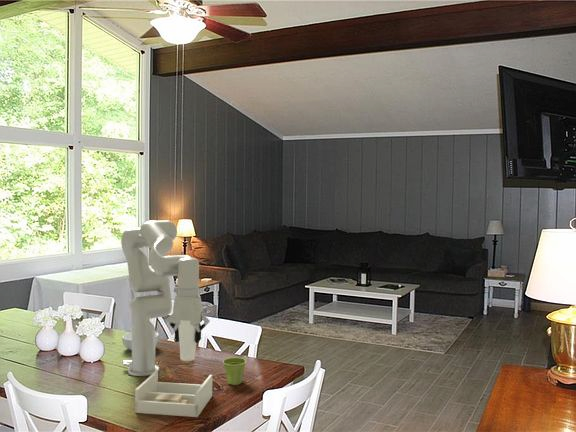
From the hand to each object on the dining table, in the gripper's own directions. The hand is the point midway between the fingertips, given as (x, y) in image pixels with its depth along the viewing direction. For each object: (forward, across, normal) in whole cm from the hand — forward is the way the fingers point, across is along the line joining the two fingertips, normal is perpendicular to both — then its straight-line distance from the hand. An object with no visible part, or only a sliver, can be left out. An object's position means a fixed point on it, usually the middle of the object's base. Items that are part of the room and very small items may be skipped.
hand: (187, 341), depth 198 cm
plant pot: (+22, +12, +21) cm, 33 cm away
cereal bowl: (+22, -41, +55) cm, 72 cm away
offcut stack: (+22, -3, -9) cm, 24 cm away
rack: (+22, -3, -4) cm, 22 cm away
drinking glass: (+7, 0, 0) cm, 7 cm away
